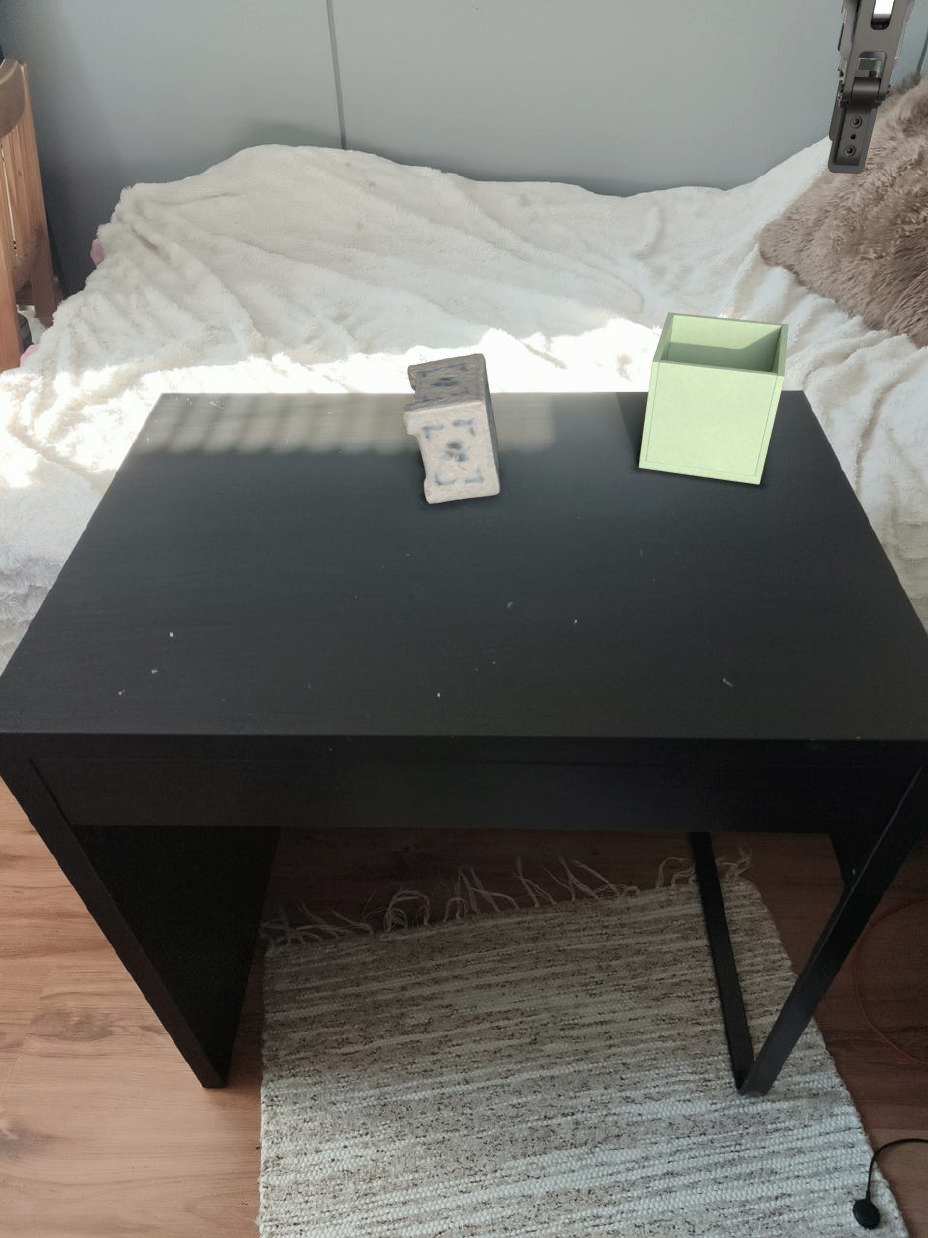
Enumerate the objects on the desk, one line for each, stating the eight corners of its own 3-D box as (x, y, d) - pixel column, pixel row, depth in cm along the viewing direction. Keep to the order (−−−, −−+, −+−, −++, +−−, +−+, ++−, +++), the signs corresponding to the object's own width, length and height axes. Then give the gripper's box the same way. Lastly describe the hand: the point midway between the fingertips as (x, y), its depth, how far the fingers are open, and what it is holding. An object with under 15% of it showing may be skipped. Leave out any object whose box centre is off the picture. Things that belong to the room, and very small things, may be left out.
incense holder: (413, 452, 89) (406, 352, 83) (497, 450, 89) (498, 350, 83) (408, 508, 82) (401, 403, 75) (500, 506, 82) (501, 401, 75)
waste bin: (765, 426, 92) (788, 323, 85) (759, 484, 84) (784, 376, 77) (654, 412, 95) (668, 311, 88) (638, 467, 87) (652, 361, 80)
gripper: (1003, -166, 45) (909, 187, 55) (972, -164, 55) (898, 133, 65) (842, -159, 47) (781, 181, 57) (841, -159, 57) (790, 129, 67)
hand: (844, 155), depth 61 cm, fingers open, 8 cm apart
